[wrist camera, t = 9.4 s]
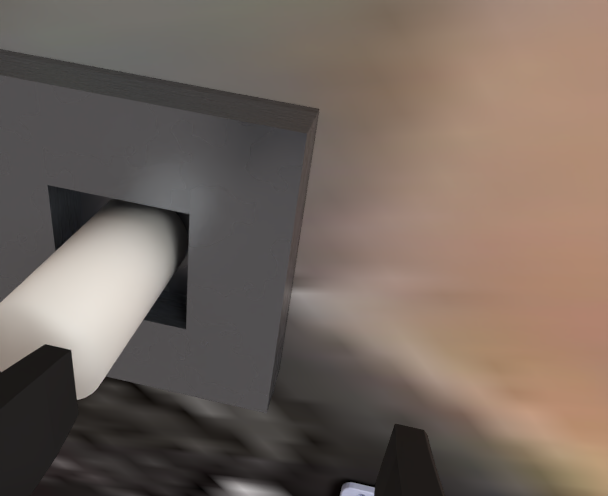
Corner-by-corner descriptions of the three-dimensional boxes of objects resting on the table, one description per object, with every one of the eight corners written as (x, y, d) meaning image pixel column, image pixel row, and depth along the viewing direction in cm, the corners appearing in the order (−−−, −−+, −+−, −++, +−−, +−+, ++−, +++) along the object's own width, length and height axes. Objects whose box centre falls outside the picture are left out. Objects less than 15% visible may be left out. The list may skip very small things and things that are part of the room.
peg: (190, 203, 21) (100, 320, 15) (186, 282, 22) (105, 412, 17) (97, 183, 21) (-28, 289, 15) (101, 262, 23) (-9, 384, 17)
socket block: (319, 109, 18) (307, 133, 16) (279, 370, 25) (266, 413, 23) (-19, 45, 19) (-72, 61, 17) (26, 314, 26) (-9, 350, 24)
